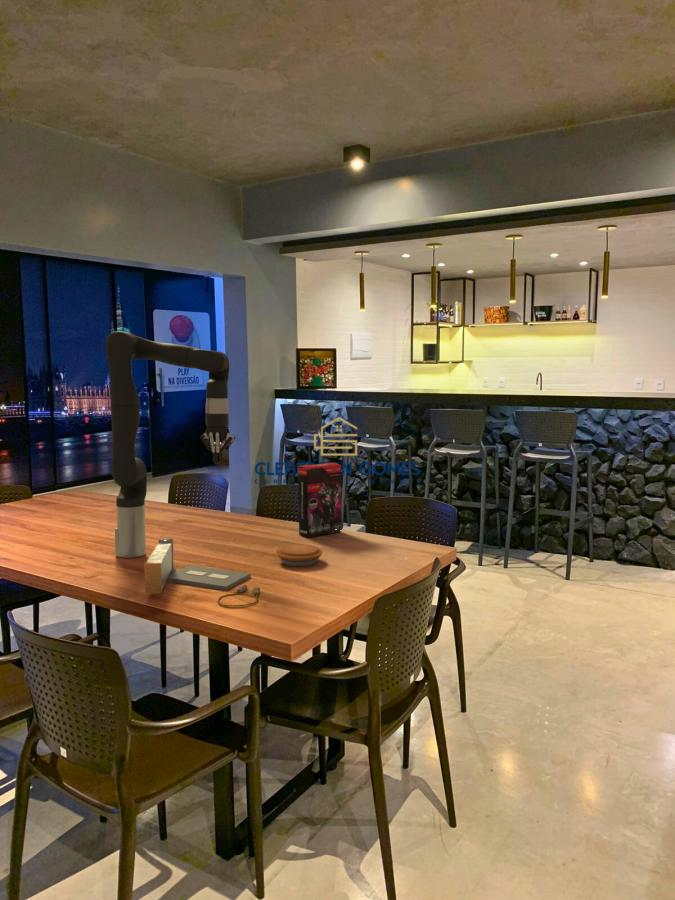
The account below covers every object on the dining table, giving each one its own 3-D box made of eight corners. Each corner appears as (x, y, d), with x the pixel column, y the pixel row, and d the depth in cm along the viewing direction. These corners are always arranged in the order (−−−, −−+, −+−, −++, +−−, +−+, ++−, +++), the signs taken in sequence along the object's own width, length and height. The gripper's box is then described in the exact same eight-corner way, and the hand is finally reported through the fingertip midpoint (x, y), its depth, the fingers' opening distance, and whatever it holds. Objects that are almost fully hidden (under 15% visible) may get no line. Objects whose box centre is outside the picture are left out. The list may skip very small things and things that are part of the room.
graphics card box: (307, 538, 259) (307, 467, 255) (296, 535, 264) (297, 465, 261) (342, 532, 269) (343, 464, 266) (331, 529, 274) (332, 462, 271)
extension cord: (277, 598, 192) (277, 591, 192) (236, 613, 180) (236, 605, 180) (246, 589, 200) (246, 582, 199) (205, 603, 187) (205, 596, 187)
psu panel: (144, 577, 208) (144, 573, 207) (172, 566, 220) (172, 561, 220) (226, 590, 197) (226, 585, 196) (250, 577, 209) (250, 572, 209)
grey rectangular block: (160, 566, 215) (159, 538, 214) (174, 566, 215) (174, 538, 214) (145, 594, 188) (144, 562, 187) (161, 594, 188) (160, 562, 187)
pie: (305, 553, 238) (305, 539, 237) (331, 563, 225) (331, 549, 225) (267, 560, 229) (267, 546, 228) (292, 571, 216) (292, 556, 216)
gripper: (193, 411, 226) (194, 463, 228) (228, 413, 221) (228, 466, 223) (206, 410, 233) (207, 461, 234) (240, 412, 227) (240, 463, 229)
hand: (217, 463), depth 229 cm, fingers closed
